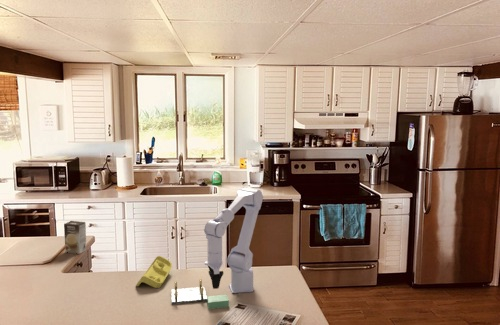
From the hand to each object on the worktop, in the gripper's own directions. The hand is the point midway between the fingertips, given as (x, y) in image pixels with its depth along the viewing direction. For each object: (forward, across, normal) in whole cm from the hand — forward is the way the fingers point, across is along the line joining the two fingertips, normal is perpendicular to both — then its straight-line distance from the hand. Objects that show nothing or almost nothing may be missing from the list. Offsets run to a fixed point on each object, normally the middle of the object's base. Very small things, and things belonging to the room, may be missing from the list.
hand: (214, 283), depth 148 cm
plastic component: (+9, -27, -24) cm, 37 cm away
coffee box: (+9, -69, -69) cm, 98 cm away
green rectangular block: (+9, +1, +1) cm, 9 cm away
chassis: (+8, -8, -10) cm, 15 cm away
